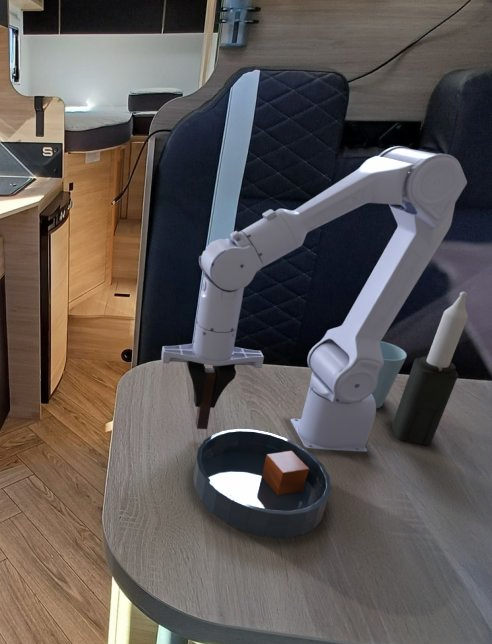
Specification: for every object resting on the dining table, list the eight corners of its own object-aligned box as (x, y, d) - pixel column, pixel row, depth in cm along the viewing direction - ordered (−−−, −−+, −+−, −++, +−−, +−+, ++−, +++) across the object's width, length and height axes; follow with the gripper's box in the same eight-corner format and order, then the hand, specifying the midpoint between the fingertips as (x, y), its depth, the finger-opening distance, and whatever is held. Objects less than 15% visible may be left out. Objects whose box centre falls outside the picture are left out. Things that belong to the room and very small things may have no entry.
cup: (358, 385, 99) (373, 336, 94) (398, 405, 93) (416, 353, 88) (333, 395, 95) (347, 345, 91) (372, 416, 89) (390, 364, 85)
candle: (424, 429, 86) (478, 288, 75) (432, 447, 82) (491, 300, 71) (390, 422, 88) (438, 283, 77) (396, 440, 83) (449, 295, 72)
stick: (205, 423, 82) (214, 368, 78) (207, 429, 81) (216, 373, 77) (195, 423, 82) (203, 367, 78) (196, 428, 81) (205, 372, 77)
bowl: (298, 456, 79) (304, 432, 77) (343, 545, 64) (353, 518, 62) (185, 449, 80) (188, 426, 78) (203, 536, 65) (208, 509, 63)
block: (285, 472, 75) (291, 450, 73) (303, 491, 72) (309, 468, 70) (261, 476, 74) (266, 454, 73) (277, 495, 71) (283, 472, 69)
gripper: (260, 315, 78) (245, 392, 84) (163, 311, 78) (155, 387, 84) (274, 335, 71) (256, 417, 77) (168, 330, 72) (158, 412, 78)
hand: (204, 403), depth 80 cm, fingers closed on stick, 1 cm apart
